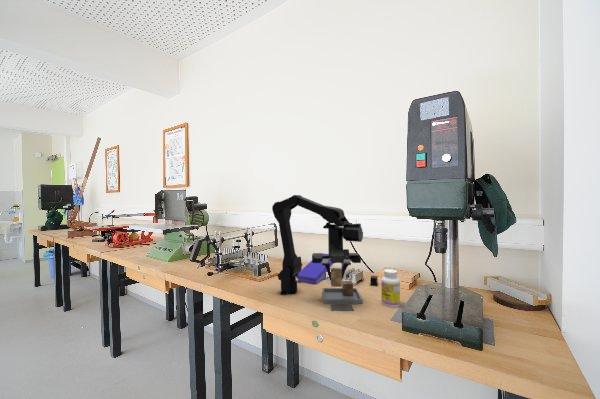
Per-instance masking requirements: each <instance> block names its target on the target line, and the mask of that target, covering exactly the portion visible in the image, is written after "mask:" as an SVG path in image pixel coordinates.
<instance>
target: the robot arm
mask: <svg viewBox="0 0 600 399" xmlns="http://www.w3.org/2000/svg"><path fill="white" fill-rule="evenodd" d="M296 207H300V208H302V209H306V210H308V211H310V212H311V213H312V212H313V213H314V214H317V215H319V216H320V217H321V218H322V219H323V220H324V221H326V223H325V225H323V227H322V229H327V230H328V231H327V233H328V235H327V236H328V237H327V238H328V242H327V243H328V245H327V246H328V251H327V252H328V253H327V254H329V255H322V253H321V252H316V253H315V252H313V253H312V254H311V261H312V263H322V265H325V267H326V269H327V272H328V275H329V277H328V278H329V281H331V272H330V269H331V267H330V264H329V260H331V263H334V264H341V268H340V269H341V271H342V280H344V276H345V274H346V273H345V272H346V270H347V268H348V267H349V266H351V265H352V264H361V263H362V257H361V255H360V254H359V253H358V252H350V249H346V248H344V240H345V242H358V243H361V242H362V241H363V239H364V231H363V227H362V225H361V223H350V221H349V220H348V219H347V217H346V216H345V212H344V210H343V209H342V208H340V207H336V206H328V205H323V204H321V203H319V202H316V201H315V200H314V201H313V200H311V199H309V198H306V197H304V196H302V195H300V194H293V195H292V196H290V197H288V198H286V199H283V200H281V201H276V202H274V203H273V204H272V207H271V210H272V213H273V216H274V218H275V220H276V221H277V223H278V226H279V233H280V239H281V244H282V250H283V260H282V262H281V263H282V264H281V265H282V267H281V268H282V269H281V271H280V272H279V273H278V274H277V279H278V280H279V281H280V294H279V295H296V293H297V292H298V279H297V278H296V276H298V274H299V272H300V271H301V270H302V269H303V263H302V257H301V256H298V255H297V253H296V251H295V244H294V239H293V233H292V227H291V222H290V221H291V216H292V210H293V209H296Z"/></svg>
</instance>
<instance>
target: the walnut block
mask: <svg viewBox="0 0 600 399" xmlns="http://www.w3.org/2000/svg"><path fill="white" fill-rule="evenodd" d="M341 288H342V294H343V296H353V288H354V282H353V281H352V280H342V287H341Z"/></svg>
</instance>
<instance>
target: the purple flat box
mask: <svg viewBox="0 0 600 399" xmlns="http://www.w3.org/2000/svg"><path fill="white" fill-rule="evenodd" d="M322 255H329V253H322ZM329 264H330V268H331V267H332V266H333V265H334V264H335V263H331V260H329ZM326 272H327V269H326V267H325V265H322V263H312V260H310V262H308V263H307V264H306V265H305V266H304V267H302V269H301V271H300V272H299V274H298V276H296V279H297V283H299V284H302V283H303V284H304V283H306V284H313V285H317V284H320V283H321V282H322V281H325V280H327V279H326Z"/></svg>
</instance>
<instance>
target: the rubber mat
mask: <svg viewBox="0 0 600 399" xmlns="http://www.w3.org/2000/svg"><path fill="white" fill-rule="evenodd" d="M329 305H330V306H329V307H330V311H332V312H335V311H336V312H337V311H338V312H354V307H353V304H329Z"/></svg>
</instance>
